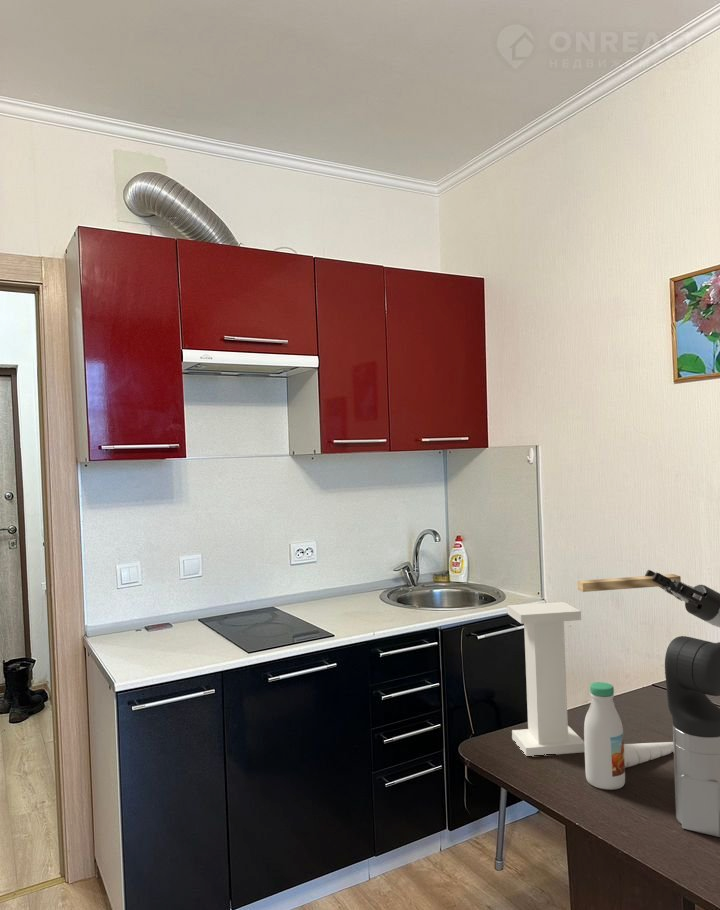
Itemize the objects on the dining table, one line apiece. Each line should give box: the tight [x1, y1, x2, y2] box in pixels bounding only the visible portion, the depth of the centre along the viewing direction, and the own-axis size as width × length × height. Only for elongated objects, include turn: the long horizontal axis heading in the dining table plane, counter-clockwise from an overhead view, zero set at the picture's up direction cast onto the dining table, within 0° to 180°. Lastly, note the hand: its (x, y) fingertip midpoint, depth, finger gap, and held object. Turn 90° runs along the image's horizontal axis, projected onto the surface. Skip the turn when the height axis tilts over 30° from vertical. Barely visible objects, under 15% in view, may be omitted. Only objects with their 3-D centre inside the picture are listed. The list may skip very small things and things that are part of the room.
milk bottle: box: [583, 681, 626, 791], centre depth 142 cm, size 8×8×20 cm
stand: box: [506, 601, 585, 757], centre depth 160 cm, size 14×10×32 cm
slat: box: [576, 573, 682, 593], centre depth 162 cm, size 24×3×2 cm, turn 96°
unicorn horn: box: [624, 741, 674, 769], centre depth 152 cm, size 5×24×5 cm, turn 111°
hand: (650, 575), depth 162 cm, fingers closed on slat, 3 cm apart
